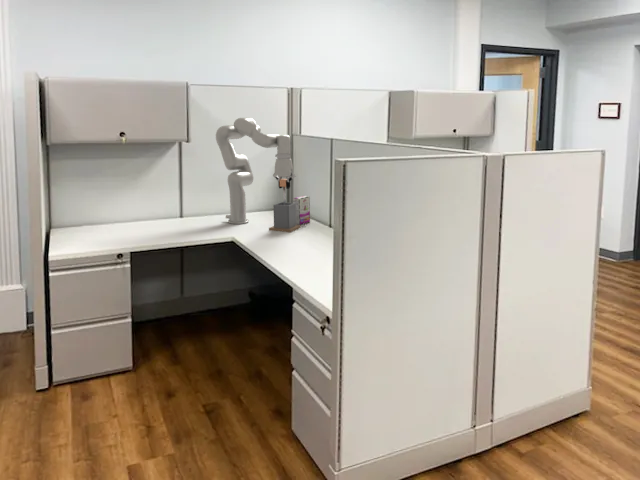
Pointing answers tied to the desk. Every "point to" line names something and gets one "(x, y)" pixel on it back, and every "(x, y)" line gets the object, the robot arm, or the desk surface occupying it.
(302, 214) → the candy bar box
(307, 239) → the desk surface
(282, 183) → the plunger
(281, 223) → the press housing
